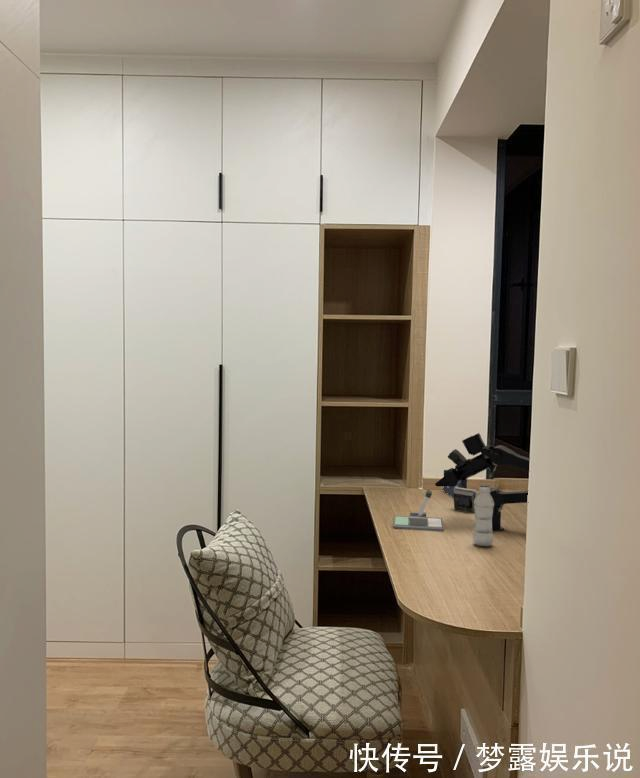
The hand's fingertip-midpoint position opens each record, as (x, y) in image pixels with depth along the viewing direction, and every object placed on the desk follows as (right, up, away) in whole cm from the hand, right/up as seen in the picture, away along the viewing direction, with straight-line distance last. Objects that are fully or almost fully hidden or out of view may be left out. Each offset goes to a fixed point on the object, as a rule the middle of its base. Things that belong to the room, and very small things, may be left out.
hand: (439, 482), depth 235 cm
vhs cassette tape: (+13, -12, +36) cm, 40 cm away
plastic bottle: (+9, -17, -28) cm, 34 cm away
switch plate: (-9, -15, -5) cm, 18 cm away
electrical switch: (+13, -14, +14) cm, 23 cm away
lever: (-9, -13, -5) cm, 16 cm away
